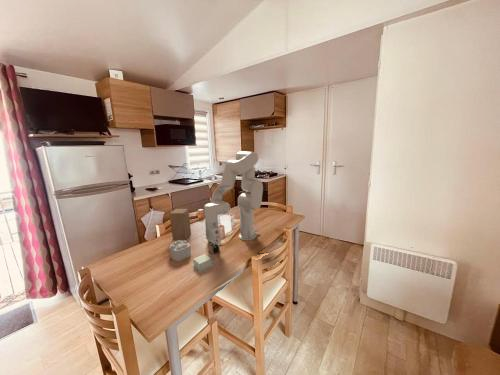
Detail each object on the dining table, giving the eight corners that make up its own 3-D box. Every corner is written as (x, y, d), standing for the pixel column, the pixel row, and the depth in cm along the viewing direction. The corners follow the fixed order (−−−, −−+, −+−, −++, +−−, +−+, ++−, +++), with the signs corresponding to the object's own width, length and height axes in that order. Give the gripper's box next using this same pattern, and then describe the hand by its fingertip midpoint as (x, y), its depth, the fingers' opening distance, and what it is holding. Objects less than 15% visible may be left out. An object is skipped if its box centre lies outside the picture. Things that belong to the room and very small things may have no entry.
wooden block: (191, 233, 153) (188, 208, 148) (186, 240, 143) (182, 213, 139) (178, 233, 154) (175, 208, 149) (172, 239, 144) (169, 213, 140)
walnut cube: (215, 248, 130) (214, 241, 128) (219, 251, 126) (219, 244, 125) (208, 251, 126) (207, 244, 125) (212, 254, 123) (212, 247, 122)
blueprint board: (210, 253, 123) (210, 252, 123) (224, 263, 113) (224, 262, 113) (186, 265, 113) (185, 263, 113) (198, 276, 103) (198, 275, 103)
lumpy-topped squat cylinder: (177, 263, 115) (175, 249, 113) (167, 255, 124) (165, 242, 122) (193, 256, 122) (192, 243, 120) (183, 248, 131) (181, 236, 129)
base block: (205, 260, 116) (204, 253, 115) (211, 265, 111) (211, 258, 110) (193, 265, 111) (193, 258, 110) (200, 270, 106) (199, 264, 105)
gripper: (225, 225, 118) (226, 253, 122) (209, 218, 131) (211, 244, 135) (214, 229, 114) (216, 258, 117) (199, 221, 126) (201, 248, 130)
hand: (213, 250), depth 126 cm, fingers closed on walnut cube, 5 cm apart
